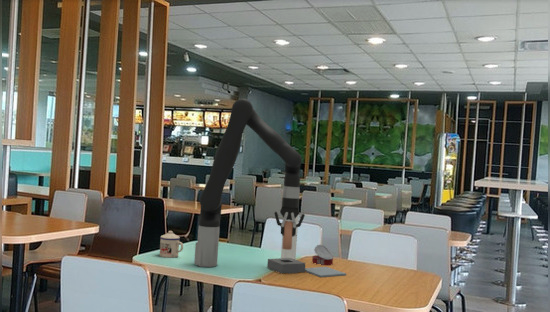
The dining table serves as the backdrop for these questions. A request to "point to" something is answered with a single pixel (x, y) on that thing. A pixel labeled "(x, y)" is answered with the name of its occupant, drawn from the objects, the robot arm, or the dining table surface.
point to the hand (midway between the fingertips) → (288, 235)
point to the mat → (324, 272)
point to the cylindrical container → (292, 252)
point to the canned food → (322, 255)
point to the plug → (288, 235)
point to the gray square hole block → (286, 265)
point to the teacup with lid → (170, 245)
